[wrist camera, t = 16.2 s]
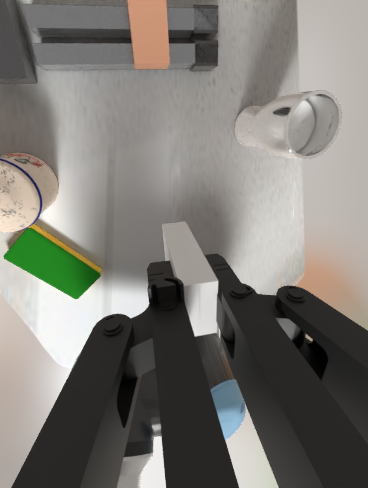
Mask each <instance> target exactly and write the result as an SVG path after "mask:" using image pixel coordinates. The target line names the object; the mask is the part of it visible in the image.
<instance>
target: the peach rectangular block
mask: <svg viewBox="0 0 368 488" xmlns="http://www.w3.org/2000/svg"><path fill="white" fill-rule="evenodd" d="M127 4H128V13H129V22H130V31H131V40H132V49H133V58H134V67H135V69H167V68H168V66H169V64H170V56H169V38H168V21H167V3H166V0H127Z"/></svg>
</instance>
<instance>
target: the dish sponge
mask: <svg viewBox="0 0 368 488" xmlns="http://www.w3.org/2000/svg"><path fill="white" fill-rule="evenodd" d="M4 259H6V260H8V261H9V262H11V263H13V264H15V265H16V266H18V267H20V268H22V269H23V270H25V271H27V272H29V273H30V274H32V275H34V276H36V277H37V278H39V279H41V280H43V281H44V282H46V283H48V284H50V285H51V286H53V287H55V288H57V289H59V290H60V291H62V292H64V293H66V294H67V295H69V296H71V297H73V298H74V299H78V298H79V297H80V296H81V295H82V294H83V293H84V292H85V291H86V290H87V289H88V288H89V287H90V286H91V285H92V284H93V283H94V282H95V281H96V280H97V279H98V278H99V277H100V276H101V272H102V270H101V268H100V267H98V266H97V265H95V264H94V263H92V262H91V261H89V260H88V259H86V258H85V257H83V256H82V255H80V254H79V253H77V252H76V251H74V250H73V249H71V248H70V247H68V246H67V245H65V244H64V243H62V242H61V241H59V240H58V239H56V238H55V237H53V236H52V235H50V234H49V233H47V232H46V231H44V230H43V229H41V228H40V227H38V226H37V225H35V224H32V225H31V226H29V227H28V228H27V229H26V230H25V232H24V233H23V234H22V235H21V236H20V237H19V239H18V240H17V241H16V242H15V243H14V244H13V246H12V247H11V248H10V249H9V250H8V251H7V252H6V254H5V255H4Z"/></svg>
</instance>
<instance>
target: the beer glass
mask: <svg viewBox="0 0 368 488" xmlns="http://www.w3.org/2000/svg"><path fill="white" fill-rule="evenodd" d="M341 120H342V111H341V107H340V104H339V102H338V100H337V98H336V97H335V96H334V95H333V94H331V93H330V92H327V91H324V90H317V91H308V92H298V93H292V94H288V95H285V96H282V97H279V98H277V99H275V100H273V101H271V102H270V103H268V104H266V105H265V106H263V107H260V106H249V107H247V108H245V109H244V110H243V111H242V112H241V113H240V114H239V115H238V117H237V119H236V122H235V127H234V131H235V136H236V139H237V140H238V142H239V143H240V144H241V145H243V146H245V147H249V148H252V147H257V146H258V147H260V148H261V149H263V150H265V151H266V152H268V153H271V154H273V155H276V156H280V157H286V158H301V159H311V158H314V157H317V156H319V155H321V154H322V153H323V152H325V151H326V150H327V149H328V148H329V147H330V146H331V144H332V143H333V142H334V140H335V138H336V136H337V135H338V132H339V129H340V126H341Z"/></svg>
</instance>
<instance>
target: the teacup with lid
mask: <svg viewBox="0 0 368 488" xmlns="http://www.w3.org/2000/svg"><path fill="white" fill-rule="evenodd" d="M57 194H58V182H57V178H56V176H55V174H54V172H53V171H52V169H51V168H50V167H49V166H48V165H47V164H46V163H45V162H44V161H42V160H41V159H39V158H37V157H35V156H33V155H30V154H27V153H11V154H6V155H1V156H0V232H15V231H20V230H23V229H26V228H28V227H29V226H31V225H32V224H33V223H35V221H36V220H37V219H38V217H39V216H40V214H41V213H42V212H44V211H45V210H46V209H47V208H48V207H49V206H50V205H51V204H52V203H53V202H54V201H55V199H56V197H57Z"/></svg>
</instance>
